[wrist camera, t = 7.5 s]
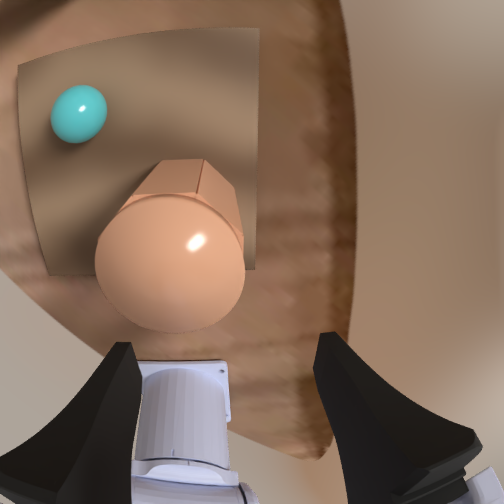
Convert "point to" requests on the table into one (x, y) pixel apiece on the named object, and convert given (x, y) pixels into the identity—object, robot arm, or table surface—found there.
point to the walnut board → (138, 130)
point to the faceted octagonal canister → (174, 249)
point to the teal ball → (78, 114)
